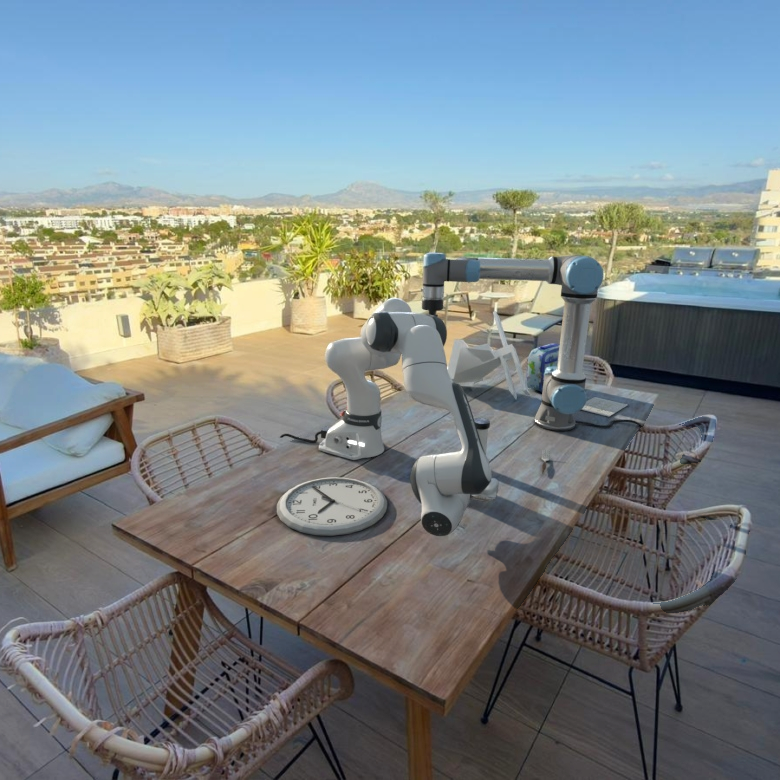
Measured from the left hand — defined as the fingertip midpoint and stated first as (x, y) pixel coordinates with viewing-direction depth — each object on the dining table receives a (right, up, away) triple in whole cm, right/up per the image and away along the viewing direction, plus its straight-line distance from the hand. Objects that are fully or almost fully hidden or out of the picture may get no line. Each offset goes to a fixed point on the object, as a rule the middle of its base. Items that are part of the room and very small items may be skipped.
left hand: (465, 471), depth 144 cm
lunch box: (+55, +23, +108) cm, 124 cm away
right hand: (-6, +34, +46) cm, 58 cm away
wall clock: (-36, -9, -1) cm, 38 cm away
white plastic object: (+21, +21, +99) cm, 104 cm away
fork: (+29, -2, +26) cm, 39 cm away
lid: (+7, +13, +18) cm, 23 cm away
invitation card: (+71, +15, +82) cm, 110 cm away
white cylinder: (+7, -3, +22) cm, 24 cm away
